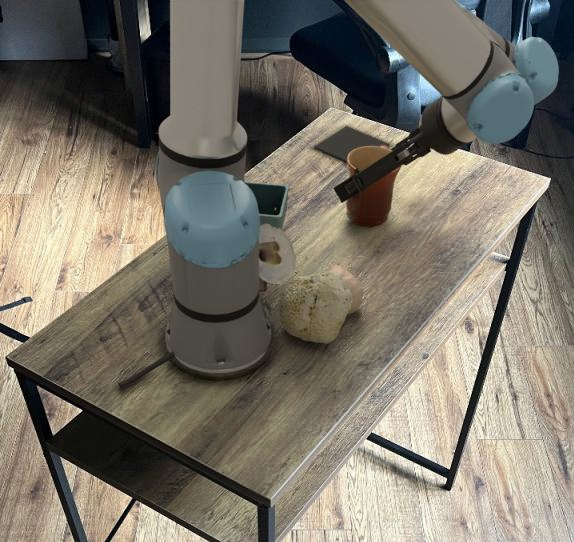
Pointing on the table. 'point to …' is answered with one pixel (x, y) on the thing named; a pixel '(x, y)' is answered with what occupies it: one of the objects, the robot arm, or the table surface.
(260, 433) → the table surface
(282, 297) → the decorative item
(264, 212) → the flower pot
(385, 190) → the mug
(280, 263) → the figurine
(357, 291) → the garlic bulb
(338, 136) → the mat
